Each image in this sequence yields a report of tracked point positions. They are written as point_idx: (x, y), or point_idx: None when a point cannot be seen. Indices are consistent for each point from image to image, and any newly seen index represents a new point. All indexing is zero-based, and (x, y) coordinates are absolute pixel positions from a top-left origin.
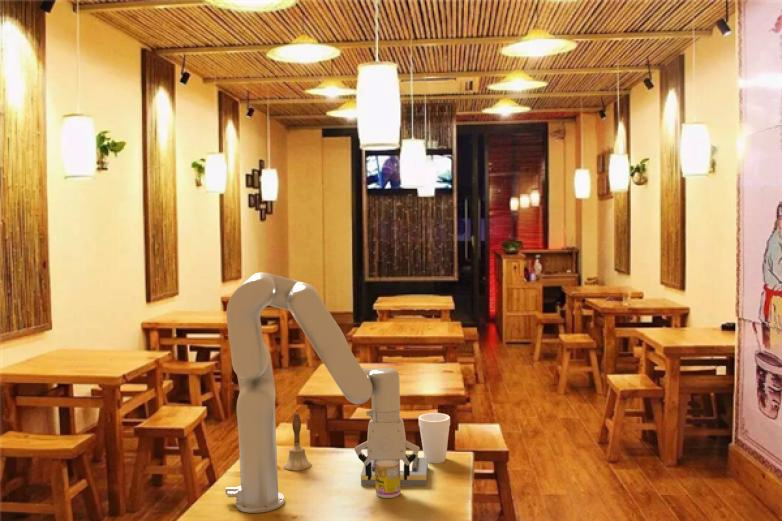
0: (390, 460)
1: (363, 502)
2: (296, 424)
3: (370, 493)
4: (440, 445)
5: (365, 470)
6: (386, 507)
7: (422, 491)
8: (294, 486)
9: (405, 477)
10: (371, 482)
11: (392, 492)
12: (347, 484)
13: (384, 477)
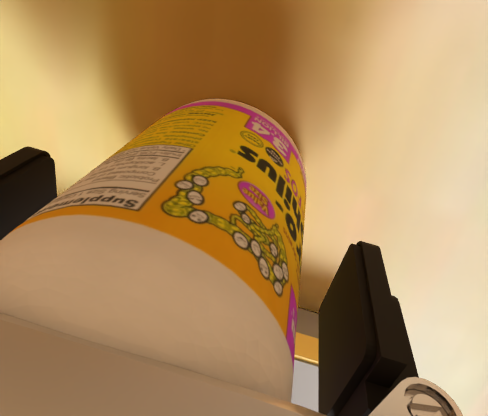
0: (21, 303)
1: (434, 75)
2: None
3: (335, 215)
4: None
5: (406, 334)
6: None
7: None
8: None
9: (22, 156)
10: (301, 322)
11: (189, 106)
12: (429, 356)
13: (219, 166)
